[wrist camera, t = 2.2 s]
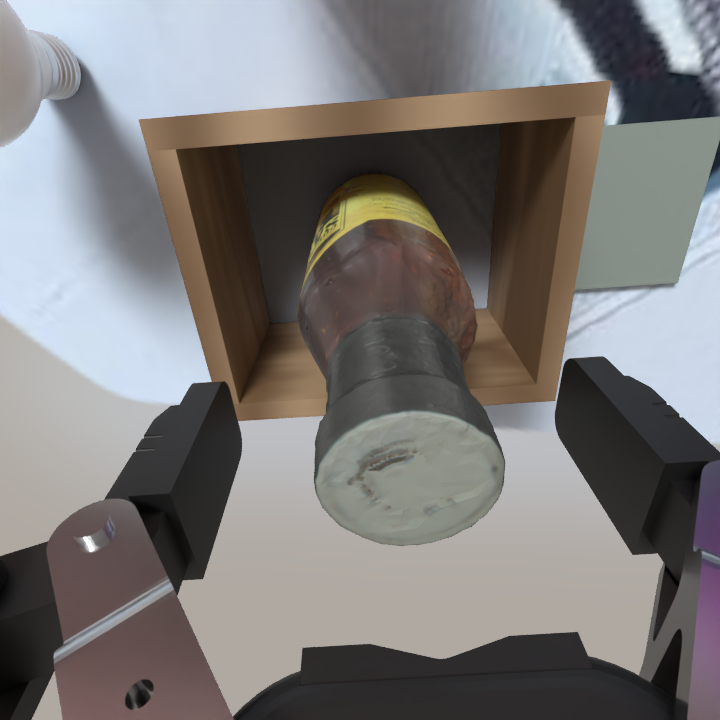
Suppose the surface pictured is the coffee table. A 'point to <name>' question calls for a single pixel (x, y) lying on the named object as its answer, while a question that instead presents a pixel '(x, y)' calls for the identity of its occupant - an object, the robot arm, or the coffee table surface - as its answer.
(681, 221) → the pad
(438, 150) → the coffee table surface
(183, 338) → the coffee table surface
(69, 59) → the lightbulb
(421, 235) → the sauce bottle
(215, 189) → the crate
